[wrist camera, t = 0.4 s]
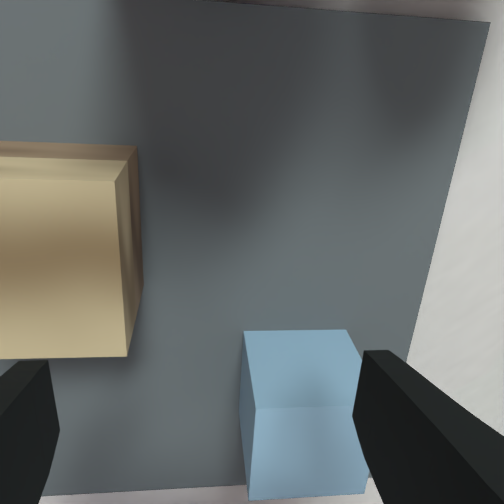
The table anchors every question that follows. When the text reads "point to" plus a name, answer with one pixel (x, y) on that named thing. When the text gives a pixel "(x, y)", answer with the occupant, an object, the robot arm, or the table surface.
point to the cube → (300, 414)
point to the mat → (238, 199)
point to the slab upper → (65, 258)
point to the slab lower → (94, 153)
